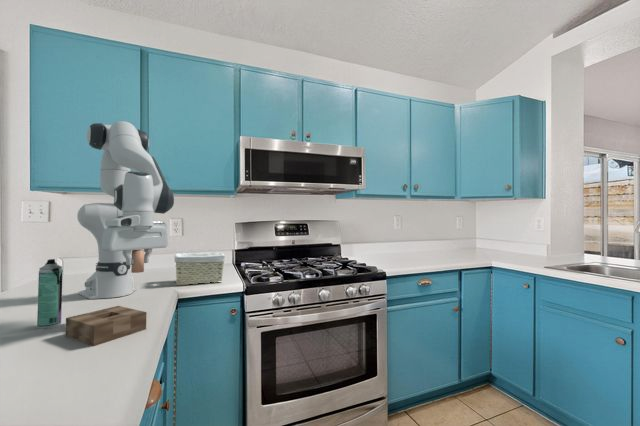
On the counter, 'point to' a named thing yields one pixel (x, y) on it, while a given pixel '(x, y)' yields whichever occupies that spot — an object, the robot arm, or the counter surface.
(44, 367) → the counter surface
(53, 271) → the spray can
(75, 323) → the bore block
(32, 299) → the counter surface
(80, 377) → the counter surface
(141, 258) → the pin
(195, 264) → the storage basket
